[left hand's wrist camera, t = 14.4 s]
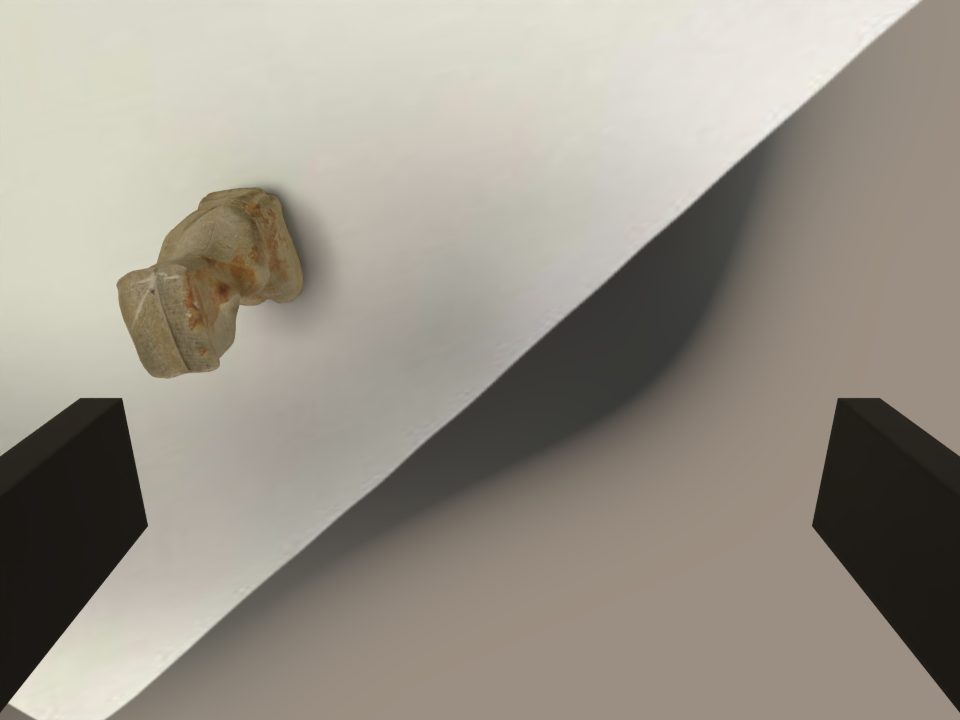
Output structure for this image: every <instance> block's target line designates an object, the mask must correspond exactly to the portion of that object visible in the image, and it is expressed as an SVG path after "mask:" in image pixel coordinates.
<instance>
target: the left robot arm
mask: <svg viewBox="0 0 960 720" xmlns="http://www.w3.org/2000/svg"><path fill="white" fill-rule="evenodd" d="M147 527H148V524H147V519H146V514H145V509H144V504H143V499H142V494H141V489H140V484H139V479H138V474H137V469H136V464H135V460H134V455H133V450H132V445H131V440H130V435H129V430H128V425H127V420H126V415H125V410H124V405H123V400H122V398H80V399H78V400H77V401H76V402H74V403H73V404H72V405H70V406H69V407H67V408H66V409H65V410H63V411H62V412H61V413H59V414H58V415H56V416H55V417H54V418H52V419H51V420H50V421H48V422H47V423H45V424H44V425H43V426H41V427H40V428H39V429H37V430H36V431H35V432H33V433H32V434H30V435H29V436H28V437H26V438H25V439H24V440H22V441H21V442H19V443H18V444H17V445H15V446H14V447H13V448H11V449H10V450H8V451H7V452H6V453H4V454H3V455H2V456H0V712H1V711H2V710H3V708H4V707H5V706H6V705H7V703H8V702H9V701H10V700H11V698H12V697H13V696H14V695H15V693H16V692H17V691H18V689H19V688H20V687H21V686H22V684H23V683H24V682H25V681H26V679H27V678H28V677H29V676H30V674H31V673H32V672H33V671H34V669H35V668H36V667H37V665H38V664H39V663H40V662H41V660H42V659H43V658H44V657H45V655H46V654H47V653H48V652H49V650H50V649H51V648H52V647H53V645H54V644H55V643H56V642H57V640H58V639H59V638H60V636H61V635H62V634H63V633H64V631H65V630H66V629H67V628H68V626H69V625H70V624H71V623H72V621H73V620H74V619H75V618H76V616H77V615H78V614H79V612H80V611H81V610H82V609H83V607H84V606H85V605H86V604H87V602H88V601H89V600H90V599H91V597H92V596H93V595H94V594H95V592H96V591H97V590H98V588H99V587H100V586H101V585H102V583H103V582H104V581H105V580H106V578H107V577H108V576H109V575H110V573H111V572H112V571H113V570H114V568H115V567H116V566H117V564H118V563H119V562H120V561H121V559H122V558H123V557H124V556H125V554H126V553H127V552H128V551H129V549H130V548H131V547H132V546H133V544H134V543H135V542H136V540H137V539H138V538H139V537H140V535H141V534H142V533H143V532H144V530H145V529H146V528H147ZM812 527H813V528H814V529H815V530H816V532H817V533H818V534H819V535H820V537H821V538H822V539H823V540H824V542H825V543H826V544H827V546H828V547H829V548H830V549H831V551H832V552H833V553H834V554H835V556H836V557H837V558H838V559H839V561H840V562H841V563H842V564H843V566H844V567H845V568H846V570H847V571H848V572H849V573H850V575H851V576H852V577H853V578H854V580H855V581H856V582H857V583H858V585H859V586H860V587H861V588H862V590H863V591H864V592H865V593H866V595H867V596H868V597H869V599H870V600H871V601H872V602H873V604H874V605H875V606H876V607H877V609H878V610H879V611H880V612H881V614H882V615H883V616H884V617H885V619H886V620H887V621H888V623H889V624H890V625H891V626H892V628H893V629H894V630H895V631H896V633H897V634H898V635H899V636H900V638H901V639H902V640H903V642H904V643H905V644H906V645H907V647H908V648H909V649H910V650H911V652H912V653H913V654H914V655H915V657H916V658H917V659H918V660H919V662H920V663H921V664H922V665H923V667H924V668H925V669H926V671H927V672H928V673H929V674H930V676H931V677H932V678H933V679H934V681H935V682H936V683H937V684H938V686H939V687H940V688H941V689H942V691H943V692H944V693H945V695H946V696H947V697H948V698H949V700H950V701H951V702H952V703H953V705H954V706H955V707H956V708H957V710H958V711H959V712H960V456H958V455H957V454H956V453H954V452H953V451H952V450H950V449H949V448H947V447H946V446H945V445H943V444H942V443H941V442H939V441H938V440H936V439H935V438H934V437H932V436H931V435H930V434H928V433H927V432H925V431H924V430H923V429H921V428H920V427H919V426H917V425H916V424H914V423H913V422H912V421H910V420H909V419H908V418H906V417H905V416H904V415H902V414H901V413H899V412H898V411H897V410H895V409H894V408H893V407H891V406H890V405H888V404H887V403H886V402H884V401H883V400H882V399H880V398H838V400H837V405H836V410H835V415H834V420H833V425H832V430H831V435H830V440H829V445H828V450H827V455H826V460H825V465H824V470H823V474H822V479H821V484H820V489H819V494H818V499H817V504H816V509H815V514H814V519H813V524H812Z"/></svg>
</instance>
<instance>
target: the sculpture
mask: <svg viewBox="0 0 960 720" xmlns="http://www.w3.org/2000/svg"><path fill="white" fill-rule="evenodd" d="M282 211H283V210H282V206H281V203H280V201H279V199H278V198H277V197H276V196H274V195H266V193H265V192H264V191H263V190H262V189H260V188H239V189H231V190H224V191H218V192H213V193H210V194H208V195H207V196H206V197H204V198H203V199H202V200H201V202H200V204H199V206H198V210H196V211H195V212H193V213H191V214H190V215H189V216H187V217H186V218H185V219H184V220H183V221H182V222H181V223H179V224H178V225H177V226H176V227H175V228H174V229H173V230H171V231H170V232H169V234H168V235H167V236H166V237H165V240H164V242H163V245H162V248H161V251H160V254H159V257H158V261H157V264H155V265H153V266H151V267H150V268H147V269H142V270H136V271H132V272H130V273H128V274H126V275H125V276H123V277H122V278H121V279H120V280H119V281H118V282H117V288H118V294H119V305H120V309H121V313H122V316H123V319H124V322H125V324H126V326H127V329H128V331H129V333H130V335H131V338H132V340H133V342H134V345H135V348H136V350H137V353H138V356H139V358H140V361H141V363H142V364H143V366H144V368H145V369H146V370H147V371H148V373H149V374H150V375H151V376H153V377H157V378H173V377H176V376H179V375H181V374H185V373H196V372H209V371H213V370H215V369H217V368H218V367H219V365H220V362H219V358H220V357H221V356H222V355H223V354H224V353H225V352H226V351H227V350H228V348H229V347H230V346H231V345H232V344H233V342H234V339H235V330H236V316H237V312H238V308H239V304H240V305H245V306H254V305H259V304H261V303H262V302H264V301H265V300H266V299H270V300H273V301H276V302H277V303H284V302H290V301H293V300H294V299H296V298H297V297H298V296H299V295H300V293H301V291H302V287H303V272H302V268H301V264H300V260H299V257H298V255H297V252H296V249H295V246H294V243H293V241H292V238H291V236H290V234H289V232H288V229H287V226H286V224H285V221H284V218H283V214H282Z"/></svg>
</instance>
